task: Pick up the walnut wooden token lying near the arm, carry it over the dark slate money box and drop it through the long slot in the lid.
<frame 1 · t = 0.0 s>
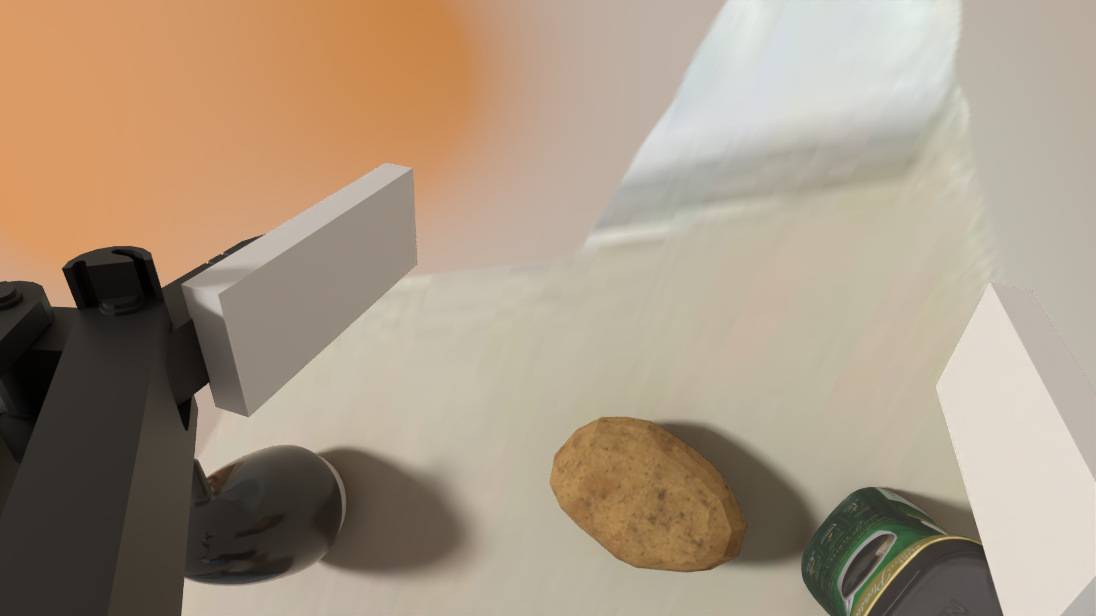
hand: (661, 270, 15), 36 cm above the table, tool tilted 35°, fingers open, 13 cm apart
black dome cover: (312, 497, 56), on the table
coffee jar: (869, 553, 46), on the table
potato: (650, 484, 50), on the table
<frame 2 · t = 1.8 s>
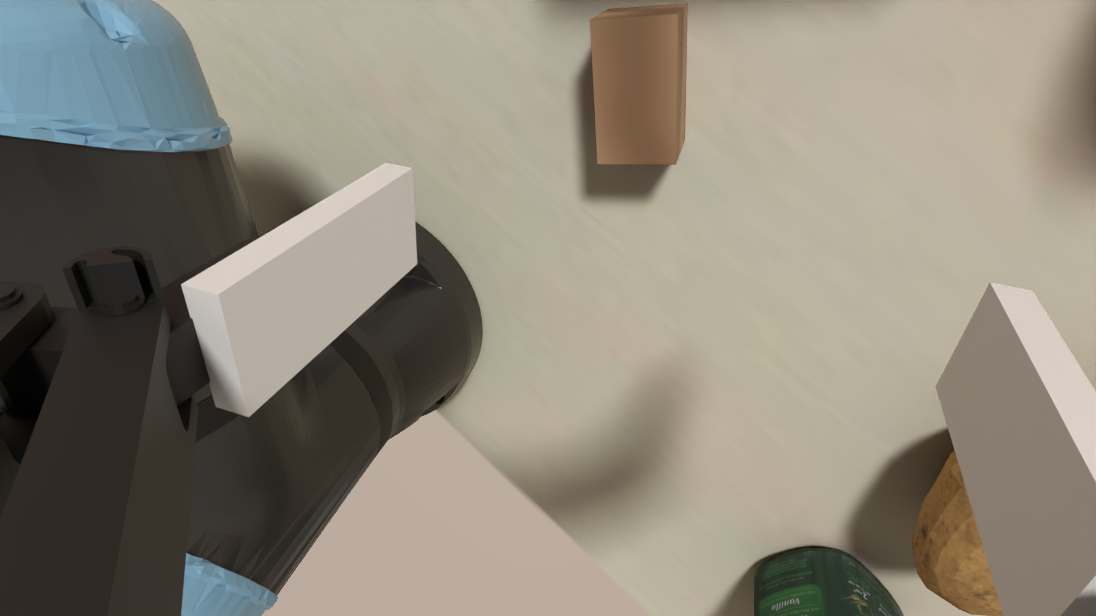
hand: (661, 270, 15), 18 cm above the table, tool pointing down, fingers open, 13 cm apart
coffee jar: (825, 587, 44), on the table
potato: (1020, 450, 34), on the table
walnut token: (648, 75, 30), on the table
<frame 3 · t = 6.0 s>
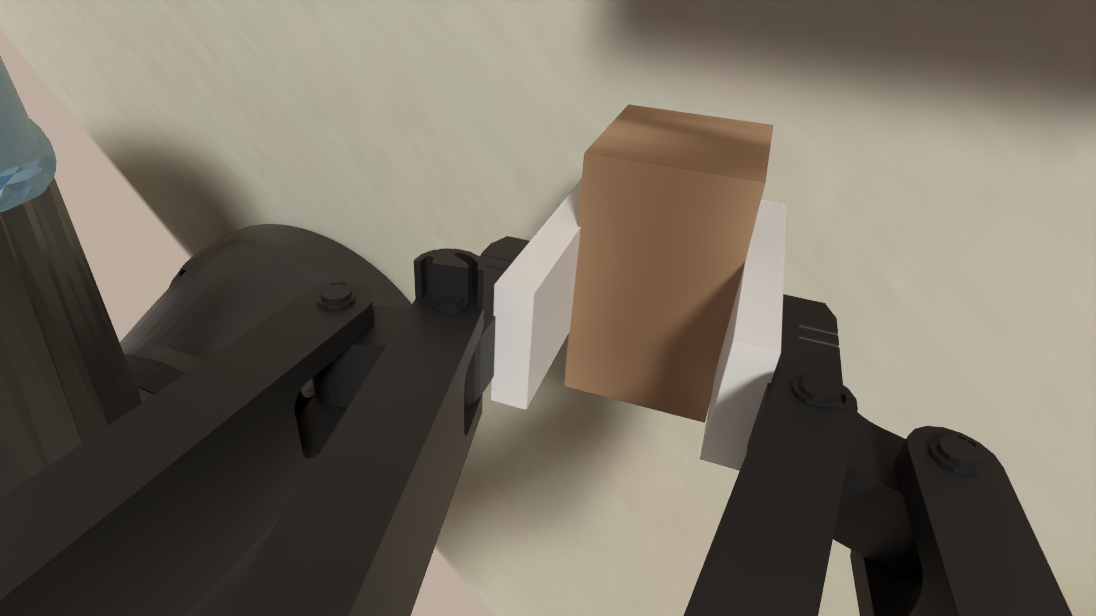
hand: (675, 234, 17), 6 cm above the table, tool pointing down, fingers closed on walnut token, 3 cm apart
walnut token: (678, 226, 17), point 6 cm above the table, touching gripper
when the fingers open (12 cm above the table, at t = 9.0 s): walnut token drops 11 cm, resting on money box.
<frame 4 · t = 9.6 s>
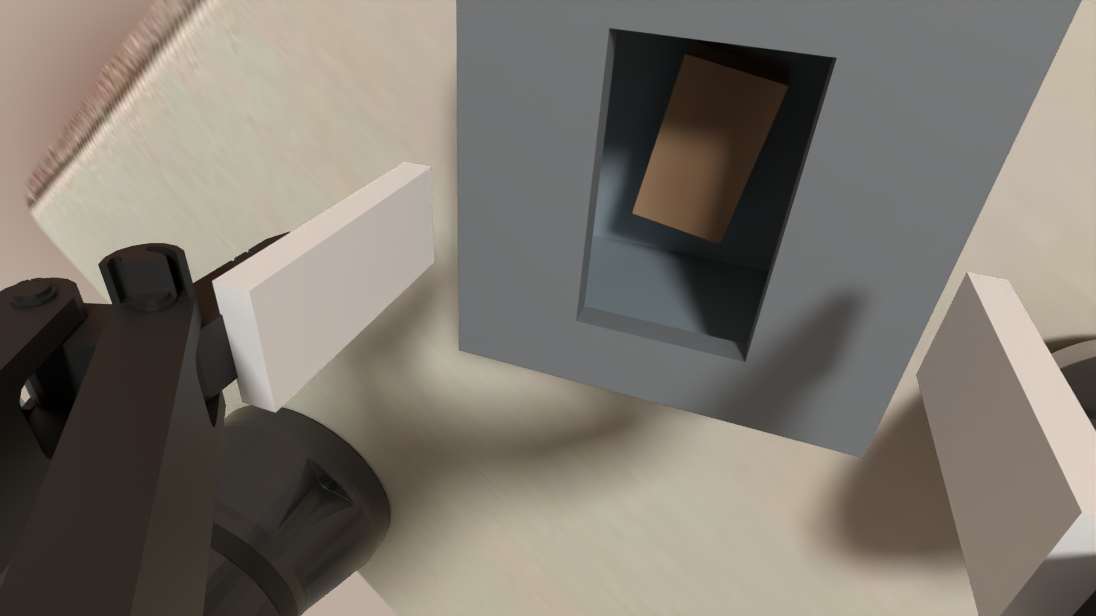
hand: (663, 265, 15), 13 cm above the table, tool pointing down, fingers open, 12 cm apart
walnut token: (715, 125, 26), resting on money box
money box: (719, 120, 26), on the table
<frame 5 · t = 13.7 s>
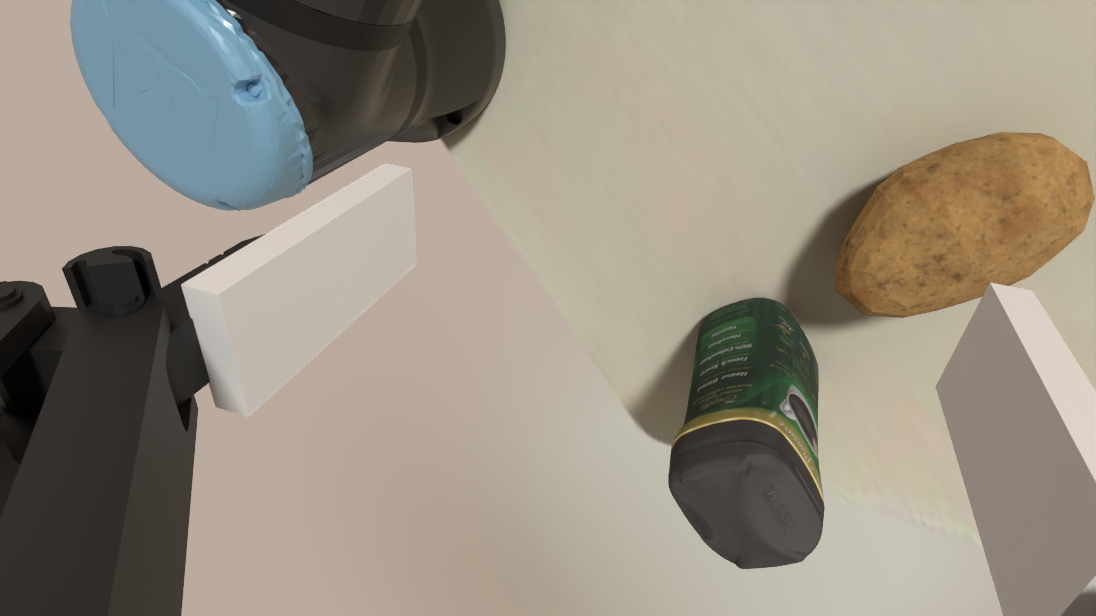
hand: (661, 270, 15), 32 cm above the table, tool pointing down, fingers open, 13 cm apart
coffee jar: (757, 345, 51), on the table
potato: (934, 204, 42), on the table
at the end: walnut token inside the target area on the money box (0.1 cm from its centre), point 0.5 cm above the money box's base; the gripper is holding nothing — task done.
